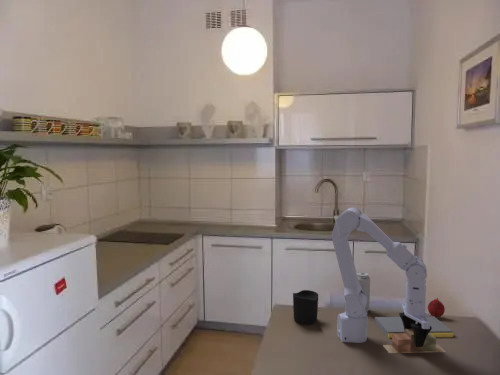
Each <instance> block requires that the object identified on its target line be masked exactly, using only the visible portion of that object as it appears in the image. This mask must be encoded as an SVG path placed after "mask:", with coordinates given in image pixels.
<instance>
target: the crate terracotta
mask: <svg viewBox="0 0 500 375" xmlns="http://www.w3.org/2000/svg"><path fill="white" fill-rule="evenodd" d="M391 339H392V340H391V342H392V343H391V345H392V346H393V347H394V348H395V350H396V351H397V352H410V348H411V339H410V338H409V337H408V336H407V335H406V334H405V333H397V334H393V336H392V338H391Z"/></svg>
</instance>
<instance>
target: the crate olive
mask: <svg viewBox="0 0 500 375" xmlns="http://www.w3.org/2000/svg"><path fill="white" fill-rule="evenodd" d="M436 344H437V337H434V336H433V335H432V334H430V333H428V335H427V337H426V339H425V342H424V345H423V351H436Z"/></svg>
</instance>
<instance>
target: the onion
mask: <svg viewBox="0 0 500 375" xmlns="http://www.w3.org/2000/svg"><path fill="white" fill-rule="evenodd" d="M445 308H446V307H445V305H444V304H443V303H442V302H441V301H440V299H439V298H438V297H435V298H434V299H432V300H431V301H430V302H428V304H427V311H428V314H429V315H430V316H434V317H435V318H437V319H438V318H441V317H442V316H443V315H444V314H445V310H446V309H445Z"/></svg>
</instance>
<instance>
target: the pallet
mask: <svg viewBox="0 0 500 375" xmlns="http://www.w3.org/2000/svg"><path fill="white" fill-rule="evenodd" d="M405 334H406V335H407V336H408V337H409V338H410V339H411V348H410V352H397V351H396V350H395V348H394V347H393V346H392V344H383V345H382V346H383V348H384V349H385V350H386V351H387V353H388V354H407V353H408V354H410V353H411V354H412V353H413V354H417V353H446V352H447V351H446V350H444V348H442V346H440V345H439V344H438V343H436V351H423V347H416V346H415V341H414V333H413V329H405Z"/></svg>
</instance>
